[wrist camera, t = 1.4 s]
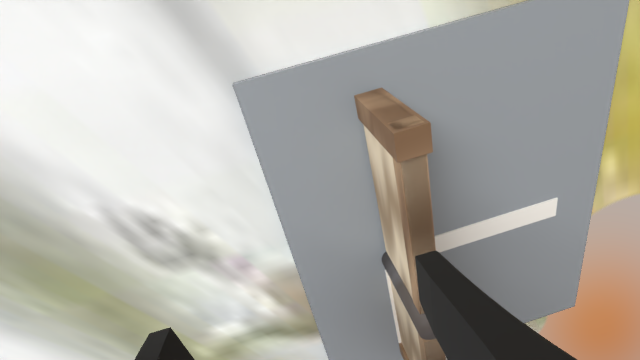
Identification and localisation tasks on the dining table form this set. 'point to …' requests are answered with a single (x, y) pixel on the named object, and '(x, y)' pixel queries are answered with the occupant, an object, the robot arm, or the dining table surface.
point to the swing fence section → (400, 179)
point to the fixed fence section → (411, 321)
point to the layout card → (445, 160)
